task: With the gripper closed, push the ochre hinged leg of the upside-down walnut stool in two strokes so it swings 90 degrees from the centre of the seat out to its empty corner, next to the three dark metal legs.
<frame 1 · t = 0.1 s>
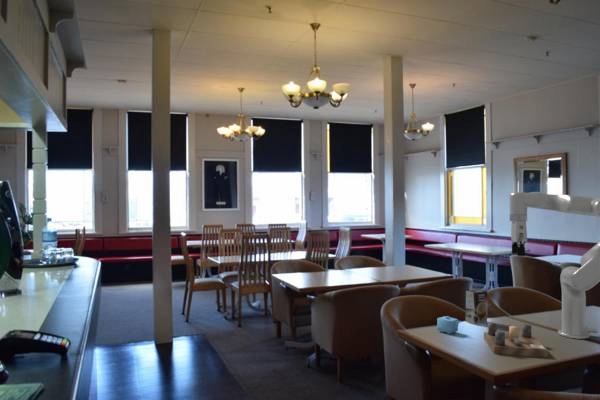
hand: (518, 254, 214), 37 cm above the table, tool pointing down, fingers open, 9 cm apart
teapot: (449, 333, 212), on the table
hinged leg: (515, 335, 187), point 6 cm above the table, hinge at 0.0°
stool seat: (513, 347, 191), on the table
coffee box: (476, 322, 230), on the table
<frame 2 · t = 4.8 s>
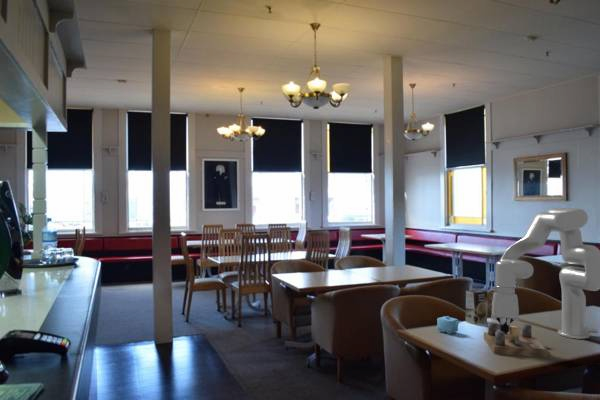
hand: (504, 333, 191), 6 cm above the table, tool pointing down, fingers closed
hinged leg: (516, 335, 187), point 6 cm above the table, hinge at 2.3°, touching gripper
everything else where it was.
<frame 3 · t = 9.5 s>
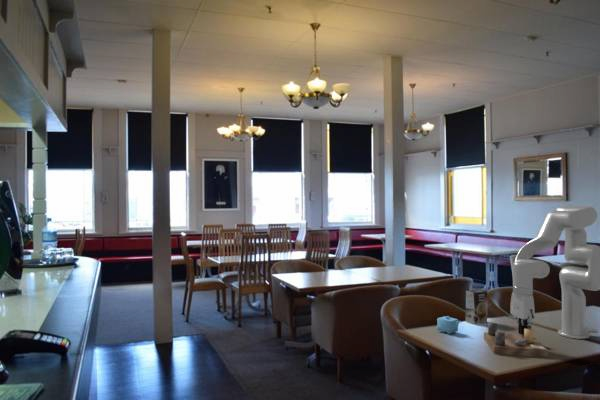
hand: (522, 333, 191), 6 cm above the table, tool pointing down, fingers closed
hinged leg: (524, 336, 186), point 6 cm above the table, hinge at 48.9°, touching gripper
everything else where it was.
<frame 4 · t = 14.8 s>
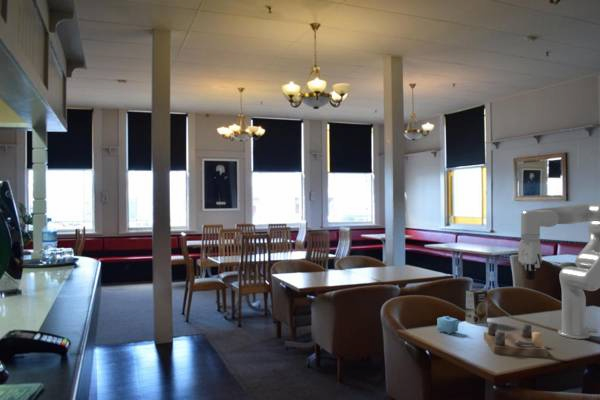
hand: (530, 279, 201), 27 cm above the table, tool pointing down, fingers closed
hinged leg: (528, 338, 183), point 6 cm above the table, hinge at 92.6°
everything else where it was.
at the end: hinged leg at +93° (first picture: +0°) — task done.
